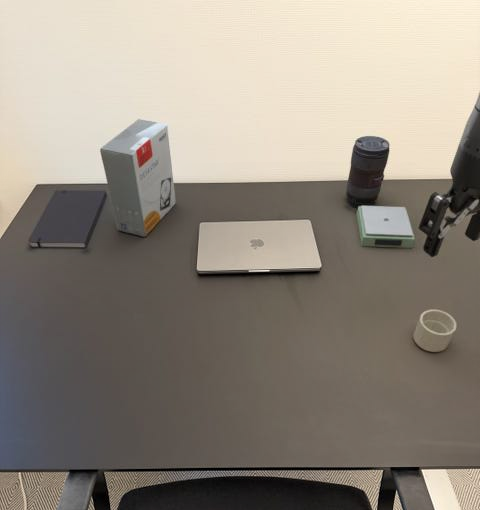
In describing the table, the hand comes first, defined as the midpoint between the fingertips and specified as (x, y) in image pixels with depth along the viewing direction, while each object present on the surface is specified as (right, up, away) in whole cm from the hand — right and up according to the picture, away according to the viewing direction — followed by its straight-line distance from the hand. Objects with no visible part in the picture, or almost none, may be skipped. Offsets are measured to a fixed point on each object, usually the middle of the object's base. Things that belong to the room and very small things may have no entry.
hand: (450, 245), depth 72 cm
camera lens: (-3, +18, +44) cm, 47 cm away
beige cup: (+2, -15, +12) cm, 20 cm away
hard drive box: (-54, +13, +40) cm, 69 cm away
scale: (0, +9, +35) cm, 36 cm away
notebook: (-73, +12, +39) cm, 83 cm away
